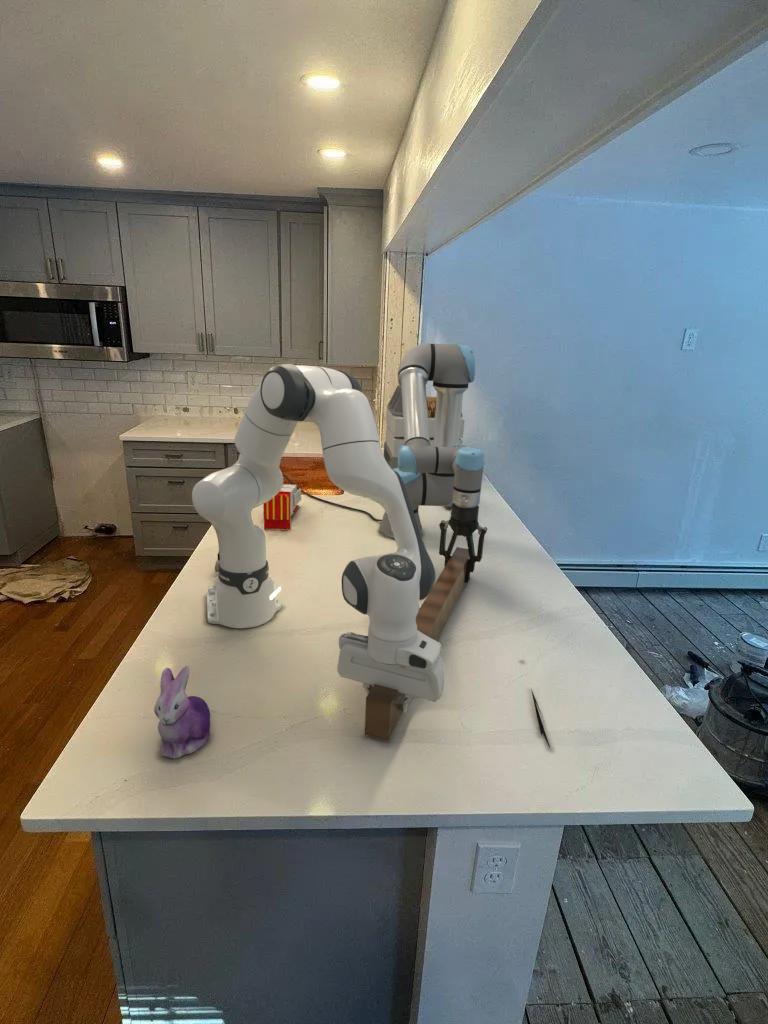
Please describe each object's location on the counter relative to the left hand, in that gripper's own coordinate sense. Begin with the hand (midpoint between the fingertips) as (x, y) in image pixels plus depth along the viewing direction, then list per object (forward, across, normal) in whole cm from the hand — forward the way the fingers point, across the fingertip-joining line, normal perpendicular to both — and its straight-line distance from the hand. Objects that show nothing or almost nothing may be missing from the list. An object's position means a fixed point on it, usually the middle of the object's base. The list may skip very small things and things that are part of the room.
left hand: (387, 704), depth 108 cm
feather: (+4, +26, +17) cm, 31 cm away
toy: (+5, -73, +90) cm, 116 cm away
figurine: (+4, -32, -19) cm, 37 cm away
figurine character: (+4, -64, +44) cm, 78 cm away
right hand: (+3, 0, +63) cm, 63 cm away
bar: (+3, 0, +31) cm, 31 cm away
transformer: (+5, -43, +172) cm, 177 cm away
